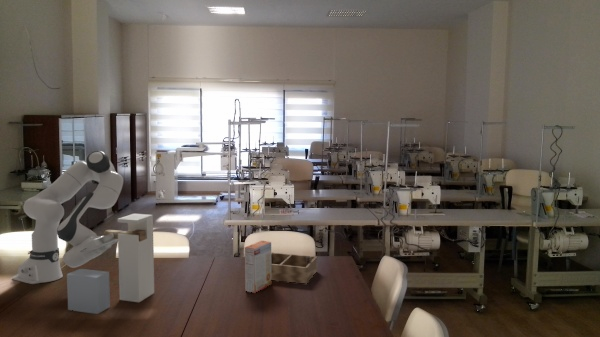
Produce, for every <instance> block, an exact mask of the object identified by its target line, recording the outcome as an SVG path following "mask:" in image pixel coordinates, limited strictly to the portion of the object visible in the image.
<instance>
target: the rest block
mask: <svg viewBox="0 0 600 337" xmlns="http://www.w3.org/2000/svg"><path fill="white" fill-rule="evenodd" d="M66 286H67V287H66V288H67V290H66V291H67V310H68V311H72V310H73V312H81V313H88V314H95V315H98V314H101V313H102V312H103V311H106V310H107V309H109V308H110V307H111V299H110V298H111V295H110V294H111V291H110V271H106V270H97V269H89V268H87V269H86V268H79V269H76V270H73V271H71V272H68V273H67V274H66Z"/></svg>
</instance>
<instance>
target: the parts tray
mask: <svg viewBox="0 0 600 337" xmlns="http://www.w3.org/2000/svg"><path fill="white" fill-rule="evenodd" d="M307 256H308V255H302V254H292V253H291V254H290V253H282V252H281V253H280V252H271V280H278V281H277V282H279V281H287V282H286V283H289V282H296V283H295V284H298V283H306V284H305V285H308V284H309V283H310V281H311V280H312V279H313V277H314V276H315V275H316V274H317V273H318V256H314V255H309V256H310V261H311V262H310V263H309V264H308V265H307V263H306V257H307ZM278 264H280V265H278ZM316 272H317V273H316ZM315 273H316V274H315ZM314 274H315V275H314ZM313 275H314V276H313ZM311 278H312V279H311ZM310 279H311V280H310ZM309 280H310V281H309ZM307 283H308V284H307Z"/></svg>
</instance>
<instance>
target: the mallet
mask: <svg viewBox="0 0 600 337" xmlns="http://www.w3.org/2000/svg"><path fill="white" fill-rule="evenodd" d="M103 233H104V236H108V235H110V234H112V233H114V234H115V237H113V238H112V239H118V234H131V235H139V241H143V240H145V239H146V232H145V230H138V229H137V230H135V231H132V232H131V231H128V230H120V229H119V230H117V229H116V230H115V229H106V230H104V232H103Z"/></svg>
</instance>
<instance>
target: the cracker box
mask: <svg viewBox="0 0 600 337" xmlns="http://www.w3.org/2000/svg"><path fill="white" fill-rule="evenodd" d="M271 253H272V241H268V240H267V241H265V240H259V241H257V242H255V243H252V244H250V245H248V246H245V247H244V290H245V292H246V291H247V292H246V293H251V292H252V294H257V293H258V291H259V292H260V290H261V291H262V290H264V289H267V288H268V287H270V286H272V281H271ZM269 285H270V286H269ZM267 286H268V287H267ZM256 292H257V293H256Z"/></svg>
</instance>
